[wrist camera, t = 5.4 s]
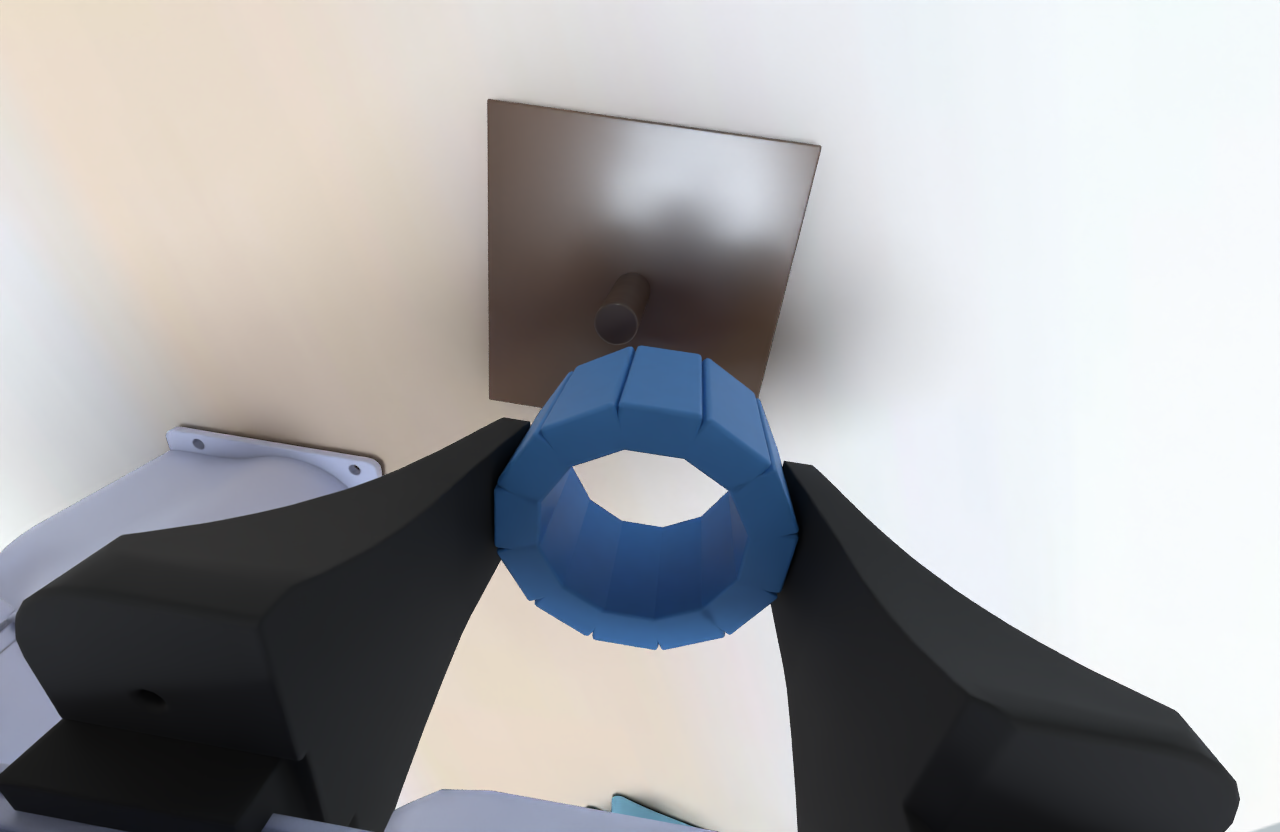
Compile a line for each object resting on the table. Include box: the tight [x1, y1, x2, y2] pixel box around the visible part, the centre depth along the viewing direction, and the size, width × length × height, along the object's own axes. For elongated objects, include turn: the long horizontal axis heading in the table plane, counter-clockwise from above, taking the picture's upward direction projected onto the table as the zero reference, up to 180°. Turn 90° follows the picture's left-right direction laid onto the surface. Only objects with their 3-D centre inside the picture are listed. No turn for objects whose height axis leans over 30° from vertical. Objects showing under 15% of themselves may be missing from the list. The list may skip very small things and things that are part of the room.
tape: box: [494, 346, 799, 650], centre depth 11 cm, size 6×6×3 cm
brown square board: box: [487, 99, 821, 408], centre depth 16 cm, size 10×10×5 cm
